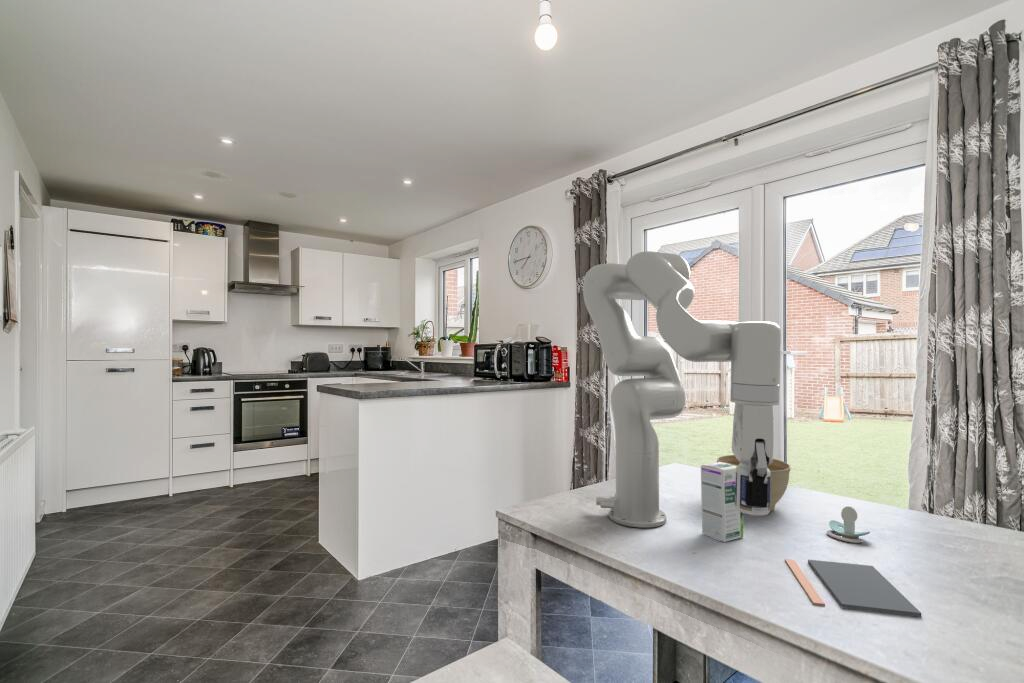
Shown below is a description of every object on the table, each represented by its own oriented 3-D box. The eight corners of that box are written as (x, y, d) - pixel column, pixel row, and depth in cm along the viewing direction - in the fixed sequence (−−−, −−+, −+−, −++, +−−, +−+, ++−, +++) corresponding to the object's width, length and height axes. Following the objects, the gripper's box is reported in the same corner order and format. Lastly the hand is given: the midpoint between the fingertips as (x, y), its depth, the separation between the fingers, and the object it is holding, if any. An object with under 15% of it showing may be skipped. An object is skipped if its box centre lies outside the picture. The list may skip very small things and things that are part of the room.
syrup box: (724, 543, 98) (724, 469, 99) (700, 533, 104) (700, 463, 104) (743, 538, 101) (743, 466, 101) (719, 528, 106) (719, 460, 106)
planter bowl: (717, 512, 117) (716, 466, 117) (717, 494, 132) (717, 452, 132) (795, 521, 110) (794, 472, 111) (786, 501, 125) (786, 457, 125)
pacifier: (855, 548, 97) (874, 542, 99) (854, 515, 97) (873, 510, 99) (819, 535, 103) (837, 529, 106) (818, 505, 103) (836, 500, 106)
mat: (841, 607, 74) (841, 603, 74) (808, 562, 89) (808, 559, 89) (921, 617, 71) (921, 613, 71) (872, 569, 87) (872, 565, 87)
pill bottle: (777, 515, 83) (778, 457, 83) (748, 517, 82) (750, 458, 82) (754, 504, 88) (756, 449, 88) (728, 506, 87) (729, 450, 87)
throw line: (813, 604, 75) (813, 602, 75) (785, 560, 90) (785, 558, 90) (824, 605, 74) (824, 603, 74) (794, 561, 90) (794, 559, 90)
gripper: (723, 388, 94) (721, 483, 94) (739, 399, 77) (737, 515, 78) (766, 389, 92) (764, 487, 92) (793, 401, 76) (790, 520, 76)
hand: (752, 498), depth 85 cm, fingers closed on pill bottle, 5 cm apart
